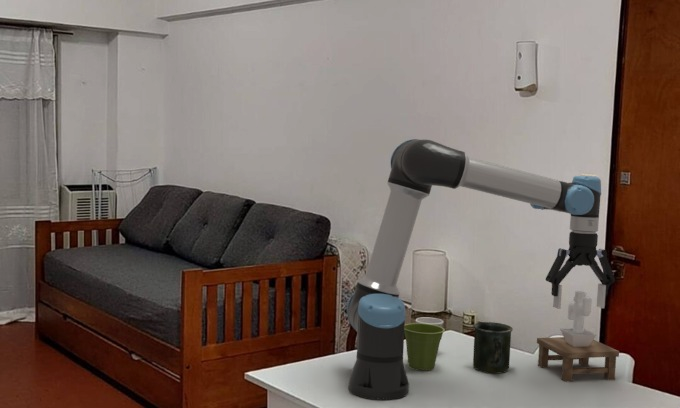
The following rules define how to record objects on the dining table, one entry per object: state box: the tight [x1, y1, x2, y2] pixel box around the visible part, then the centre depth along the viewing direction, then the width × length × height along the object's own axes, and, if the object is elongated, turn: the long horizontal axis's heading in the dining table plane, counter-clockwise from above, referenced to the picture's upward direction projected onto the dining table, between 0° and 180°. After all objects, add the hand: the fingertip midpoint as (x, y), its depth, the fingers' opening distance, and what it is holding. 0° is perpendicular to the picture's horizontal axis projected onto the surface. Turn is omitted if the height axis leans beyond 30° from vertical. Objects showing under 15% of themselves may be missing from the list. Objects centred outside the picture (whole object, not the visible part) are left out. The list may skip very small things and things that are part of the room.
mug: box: [472, 321, 514, 374], centre depth 212 cm, size 11×15×12 cm
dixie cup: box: [415, 316, 444, 328], centre depth 227 cm, size 8×8×10 cm
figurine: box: [559, 290, 597, 347], centre depth 211 cm, size 7×9×15 cm
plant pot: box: [404, 322, 446, 372], centre depth 212 cm, size 12×12×11 cm
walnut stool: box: [536, 336, 620, 383], centre depth 213 cm, size 16×16×8 cm
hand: (578, 307), depth 212 cm, fingers open, 13 cm apart
